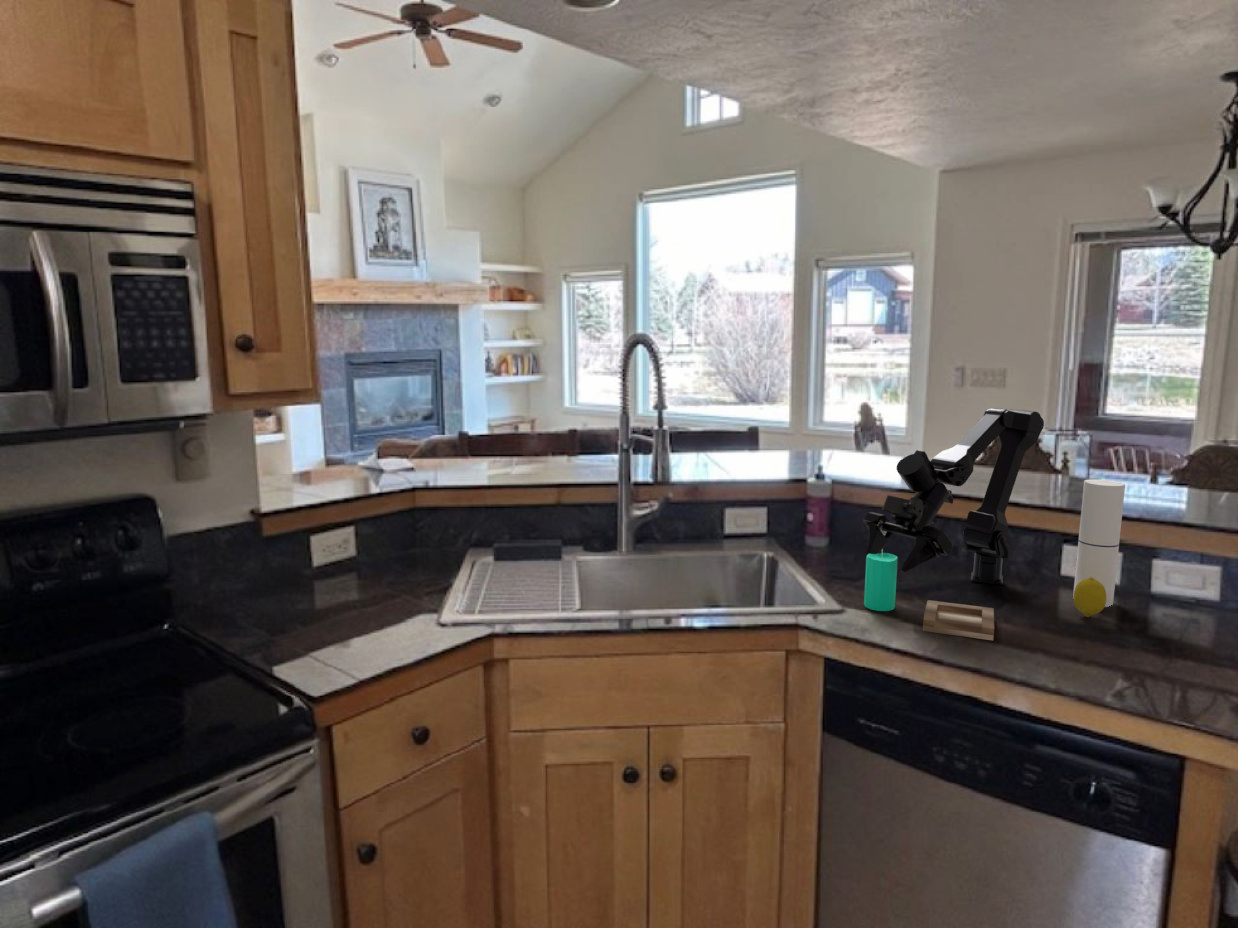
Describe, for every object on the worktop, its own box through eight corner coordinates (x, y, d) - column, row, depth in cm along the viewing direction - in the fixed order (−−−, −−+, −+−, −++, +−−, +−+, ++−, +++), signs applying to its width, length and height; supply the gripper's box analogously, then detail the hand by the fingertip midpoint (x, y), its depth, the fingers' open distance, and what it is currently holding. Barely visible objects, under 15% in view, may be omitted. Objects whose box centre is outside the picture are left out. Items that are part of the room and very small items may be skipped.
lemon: (1095, 612, 160) (1099, 573, 159) (1109, 622, 155) (1113, 582, 154) (1066, 611, 161) (1070, 572, 160) (1079, 621, 155) (1083, 581, 154)
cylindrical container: (1075, 604, 165) (1087, 484, 161) (1070, 593, 172) (1081, 478, 168) (1115, 608, 162) (1128, 486, 158) (1109, 598, 169) (1121, 480, 165)
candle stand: (926, 610, 162) (927, 600, 161) (992, 619, 157) (993, 608, 156) (922, 630, 151) (923, 619, 150) (993, 640, 146) (994, 628, 146)
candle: (895, 603, 166) (898, 546, 164) (894, 612, 160) (898, 554, 159) (864, 599, 168) (867, 544, 166) (863, 609, 162) (866, 551, 160)
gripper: (871, 474, 171) (831, 531, 167) (947, 489, 155) (904, 552, 152) (894, 506, 176) (856, 562, 173) (969, 524, 161) (929, 586, 157)
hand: (884, 565), depth 163 cm, fingers open, 9 cm apart
